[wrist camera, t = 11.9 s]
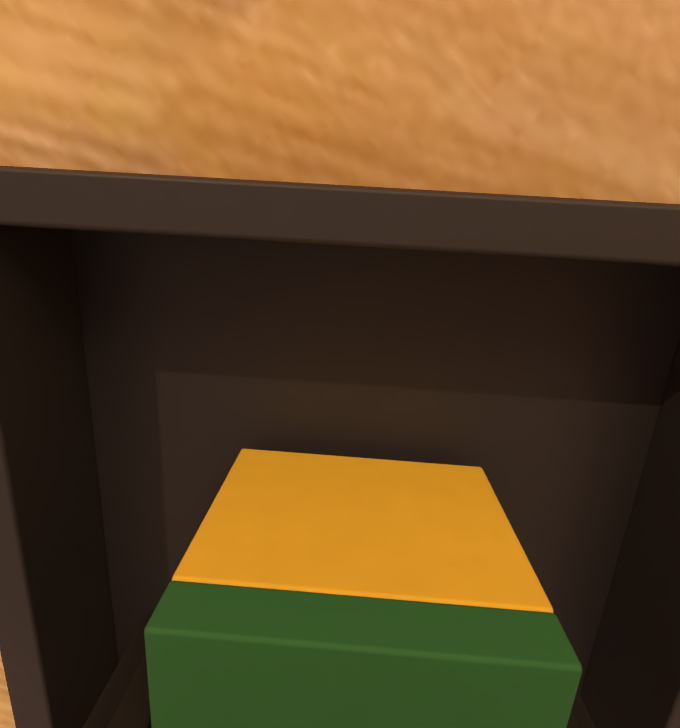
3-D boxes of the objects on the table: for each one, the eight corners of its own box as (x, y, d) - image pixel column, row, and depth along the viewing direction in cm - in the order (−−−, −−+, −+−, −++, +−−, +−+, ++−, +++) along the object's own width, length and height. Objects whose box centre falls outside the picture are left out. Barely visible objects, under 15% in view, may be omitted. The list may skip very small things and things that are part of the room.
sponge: (241, 447, 9) (141, 629, 5) (482, 466, 9) (586, 670, 5) (241, 696, 11) (169, 977, 7) (439, 715, 11) (487, 1012, 7)
